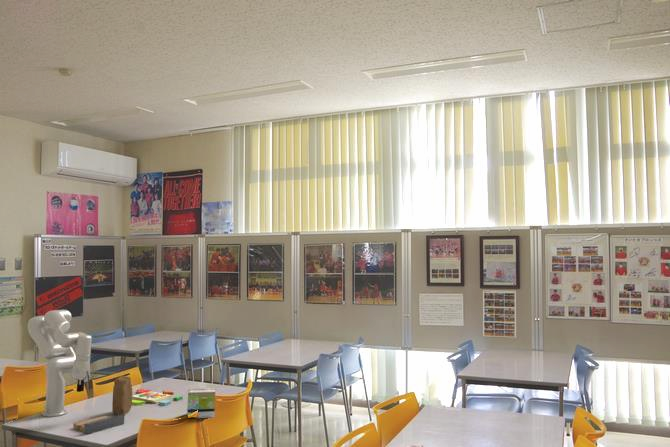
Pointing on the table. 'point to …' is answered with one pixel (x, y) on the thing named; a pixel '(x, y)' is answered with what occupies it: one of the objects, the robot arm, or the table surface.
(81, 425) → the walnut slab
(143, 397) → the pattern blocks set
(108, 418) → the block
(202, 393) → the tea box
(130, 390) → the block
